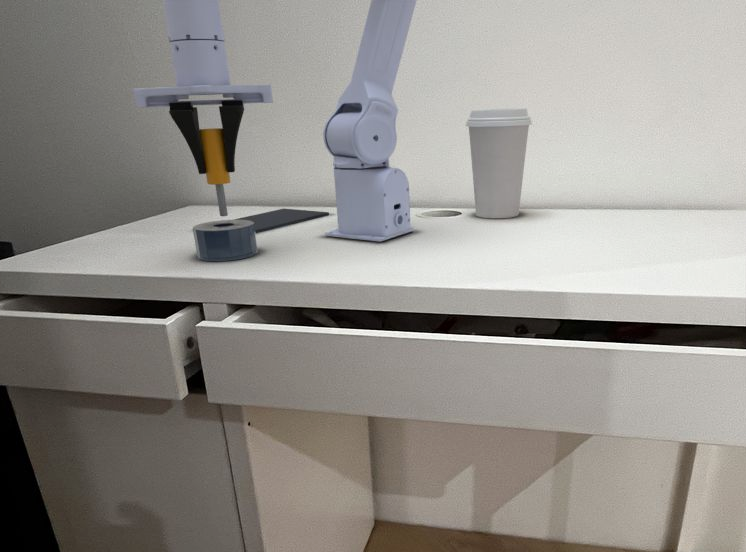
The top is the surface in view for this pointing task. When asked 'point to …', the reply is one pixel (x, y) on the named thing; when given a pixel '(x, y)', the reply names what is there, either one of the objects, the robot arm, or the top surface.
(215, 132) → the screwdriver
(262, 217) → the mat
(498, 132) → the coffee cup
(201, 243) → the squat holed cylinder
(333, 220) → the top surface
